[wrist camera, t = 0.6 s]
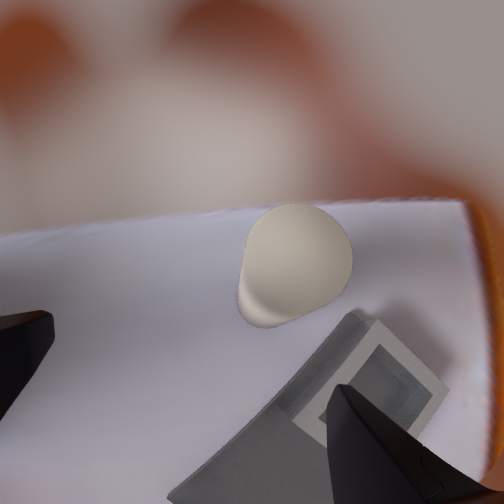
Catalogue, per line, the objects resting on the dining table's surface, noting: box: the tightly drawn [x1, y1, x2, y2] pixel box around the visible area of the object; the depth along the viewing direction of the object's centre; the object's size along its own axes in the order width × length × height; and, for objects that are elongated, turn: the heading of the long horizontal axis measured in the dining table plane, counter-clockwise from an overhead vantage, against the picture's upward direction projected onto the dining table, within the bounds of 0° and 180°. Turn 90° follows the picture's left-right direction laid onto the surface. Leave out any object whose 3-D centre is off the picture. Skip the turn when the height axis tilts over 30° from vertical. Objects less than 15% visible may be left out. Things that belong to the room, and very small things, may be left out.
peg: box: [237, 203, 353, 328], centre depth 18 cm, size 4×4×12 cm
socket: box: [167, 312, 449, 504], centre depth 19 cm, size 20×11×4 cm, turn 137°
